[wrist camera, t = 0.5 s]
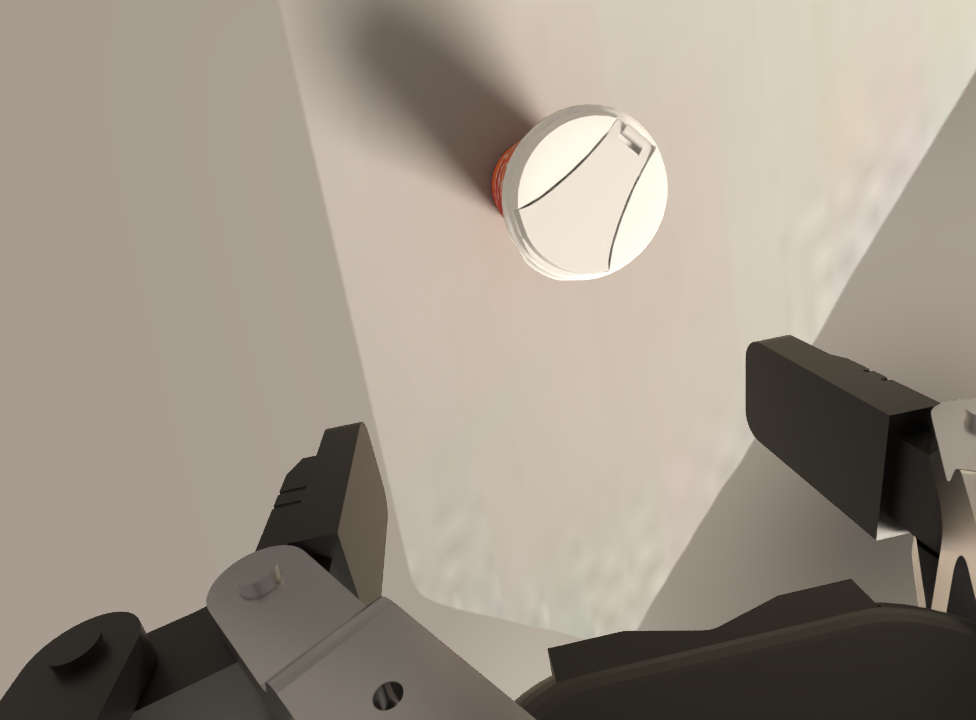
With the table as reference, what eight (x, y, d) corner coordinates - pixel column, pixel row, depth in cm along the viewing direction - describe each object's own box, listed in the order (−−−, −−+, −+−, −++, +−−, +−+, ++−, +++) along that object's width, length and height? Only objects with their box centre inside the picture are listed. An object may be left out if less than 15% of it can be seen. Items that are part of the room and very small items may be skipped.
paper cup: (517, 97, 35) (574, 60, 22) (610, 166, 37) (713, 171, 24) (452, 204, 37) (469, 229, 24) (544, 265, 39) (607, 318, 26)
